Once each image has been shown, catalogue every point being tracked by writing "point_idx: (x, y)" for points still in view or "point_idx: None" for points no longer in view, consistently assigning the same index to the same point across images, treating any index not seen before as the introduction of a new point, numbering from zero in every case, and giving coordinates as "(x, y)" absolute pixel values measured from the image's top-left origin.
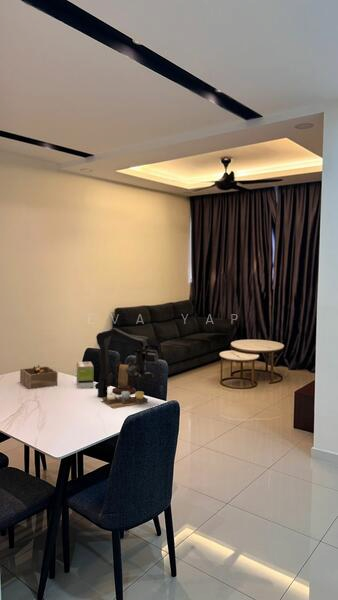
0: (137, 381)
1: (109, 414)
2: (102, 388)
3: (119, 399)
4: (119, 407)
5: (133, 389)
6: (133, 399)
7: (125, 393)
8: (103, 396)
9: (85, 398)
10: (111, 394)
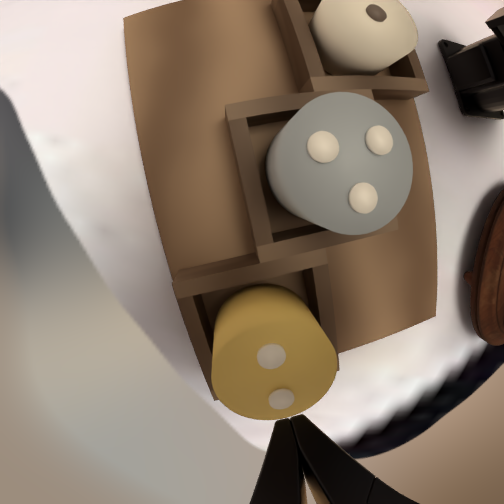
0: (348, 501)
1: (76, 8)
2: (492, 19)
3: (310, 92)
4: (135, 64)
5: (497, 330)
6: (257, 256)
7: (287, 132)
8: (456, 54)
9: (461, 6)
10: (368, 7)
